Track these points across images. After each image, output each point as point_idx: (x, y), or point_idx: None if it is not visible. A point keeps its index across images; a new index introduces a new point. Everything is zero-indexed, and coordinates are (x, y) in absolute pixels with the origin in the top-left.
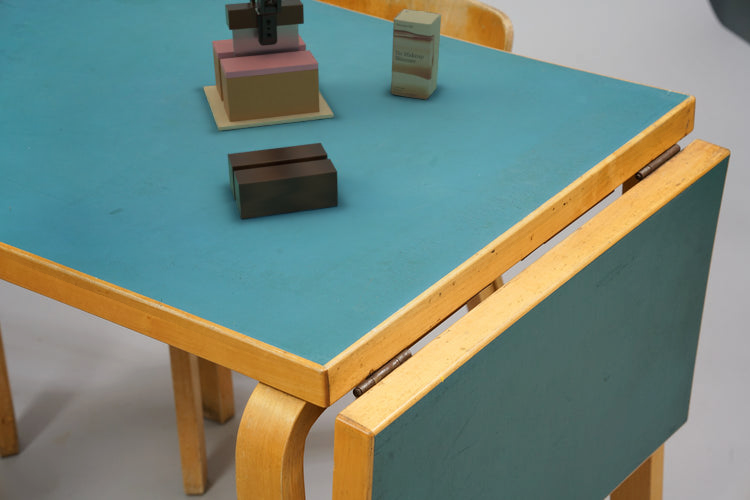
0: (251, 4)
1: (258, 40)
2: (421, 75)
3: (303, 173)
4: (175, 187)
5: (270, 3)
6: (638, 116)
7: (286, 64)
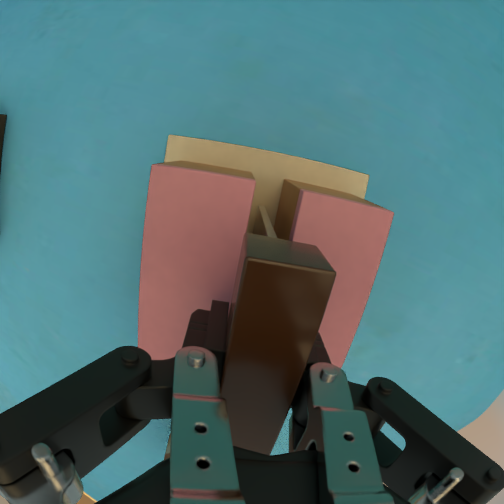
0: (277, 364)
1: (223, 303)
2: (168, 455)
3: None
4: (37, 47)
5: (123, 405)
6: (96, 494)
7: (147, 317)
